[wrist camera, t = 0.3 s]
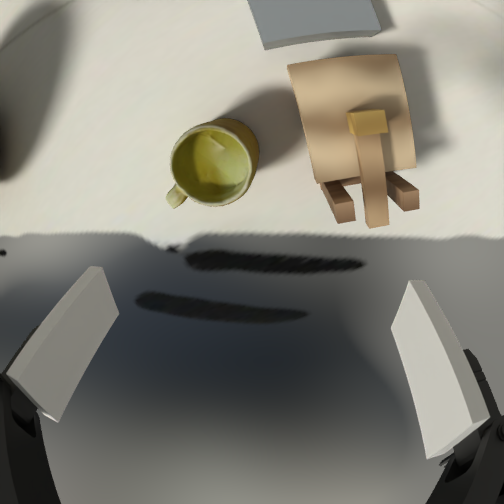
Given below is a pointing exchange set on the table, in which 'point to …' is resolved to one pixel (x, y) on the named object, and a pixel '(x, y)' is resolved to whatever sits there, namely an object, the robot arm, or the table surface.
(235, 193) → the mug
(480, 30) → the table surface
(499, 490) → the robot arm
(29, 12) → the table surface
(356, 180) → the toolbox
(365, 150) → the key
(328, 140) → the lid
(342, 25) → the block
